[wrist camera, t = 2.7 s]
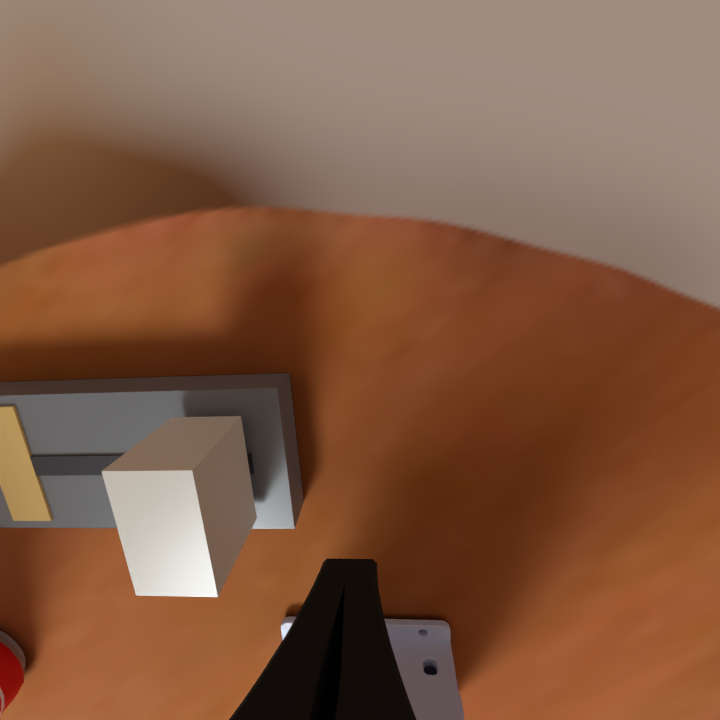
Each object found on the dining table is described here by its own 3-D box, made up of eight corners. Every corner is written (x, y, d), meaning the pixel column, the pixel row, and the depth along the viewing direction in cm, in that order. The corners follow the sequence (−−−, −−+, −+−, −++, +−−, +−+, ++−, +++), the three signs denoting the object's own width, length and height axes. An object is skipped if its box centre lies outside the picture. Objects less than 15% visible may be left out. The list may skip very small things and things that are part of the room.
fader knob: (240, 415, 15) (192, 470, 12) (256, 518, 17) (218, 597, 13) (171, 417, 16) (101, 471, 12) (192, 517, 17) (136, 595, 13)
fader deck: (289, 373, 17) (276, 388, 15) (303, 501, 19) (293, 530, 17) (-23, 382, 19) (-73, 398, 17) (20, 501, 21) (-21, 529, 19)
